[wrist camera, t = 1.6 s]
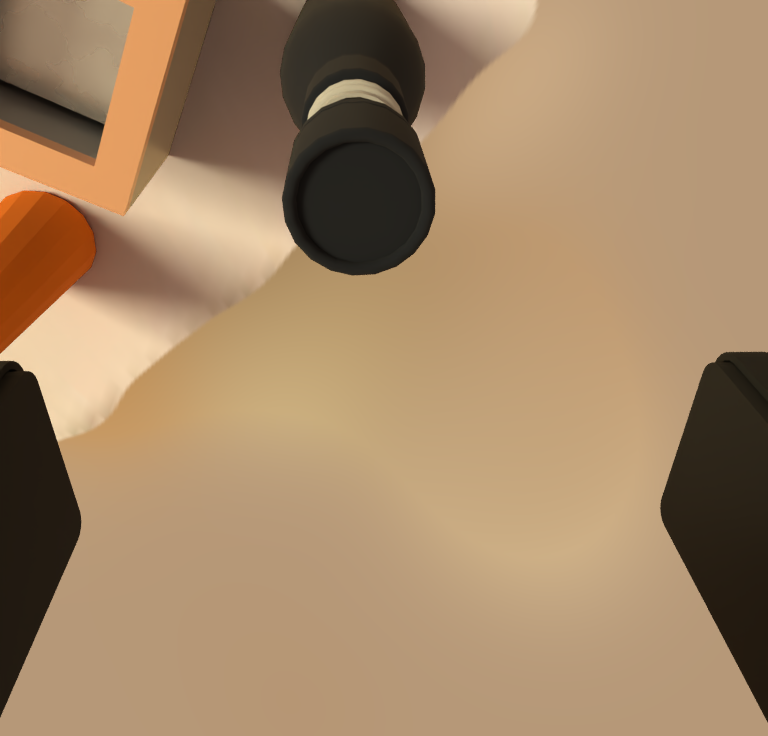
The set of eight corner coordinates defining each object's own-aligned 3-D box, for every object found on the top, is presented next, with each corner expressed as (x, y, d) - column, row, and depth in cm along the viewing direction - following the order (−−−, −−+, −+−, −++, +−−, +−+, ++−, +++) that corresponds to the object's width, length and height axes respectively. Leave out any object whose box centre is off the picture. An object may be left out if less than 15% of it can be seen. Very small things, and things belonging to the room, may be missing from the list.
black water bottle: (321, -48, 39) (281, 16, 14) (420, 3, 41) (536, 140, 16) (283, 61, 42) (197, 269, 18) (376, 105, 44) (418, 350, 19)
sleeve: (9, -145, 36) (-104, -165, 27) (225, -32, 40) (190, -16, 30) (-23, 73, 42) (-125, 117, 33) (168, 155, 45) (123, 216, 36)
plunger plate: (12, -69, 34) (3, -68, 33) (151, 0, 36) (146, 2, 35) (-10, 67, 37) (-18, 71, 36) (118, 123, 39) (113, 128, 38)
